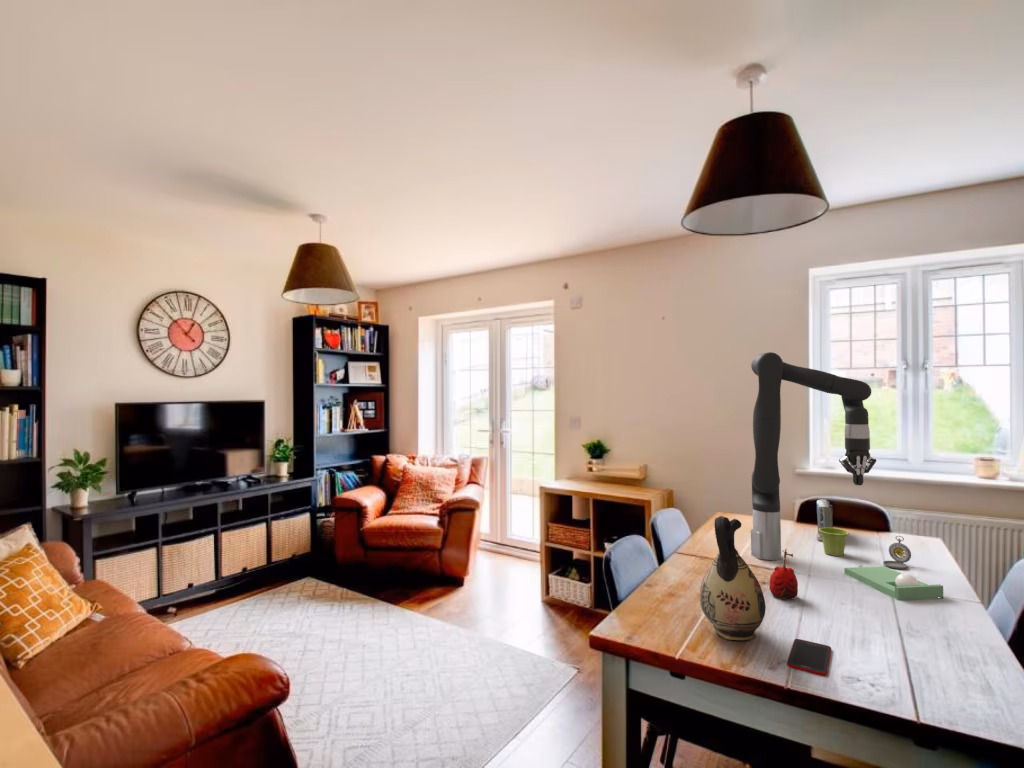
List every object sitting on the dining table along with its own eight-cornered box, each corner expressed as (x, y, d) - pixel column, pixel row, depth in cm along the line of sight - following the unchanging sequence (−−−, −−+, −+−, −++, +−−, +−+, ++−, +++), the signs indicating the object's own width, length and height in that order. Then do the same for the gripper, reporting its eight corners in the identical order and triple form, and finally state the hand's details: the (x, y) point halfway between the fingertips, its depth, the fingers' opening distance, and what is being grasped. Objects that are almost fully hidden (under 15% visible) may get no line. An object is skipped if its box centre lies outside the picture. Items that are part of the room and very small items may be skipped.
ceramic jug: (711, 614, 143) (709, 505, 143) (772, 630, 133) (770, 513, 134) (688, 637, 130) (686, 517, 130) (754, 656, 120) (751, 527, 121)
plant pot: (855, 558, 189) (854, 534, 189) (828, 558, 189) (828, 534, 189) (839, 550, 198) (838, 527, 198) (814, 550, 198) (813, 527, 198)
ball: (898, 570, 156) (887, 578, 160) (909, 589, 152) (897, 596, 156) (915, 570, 156) (904, 577, 160) (926, 588, 152) (914, 596, 157)
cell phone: (831, 650, 123) (831, 646, 123) (826, 678, 111) (826, 674, 111) (794, 641, 128) (794, 637, 128) (786, 668, 116) (786, 664, 116)
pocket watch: (884, 568, 178) (884, 538, 178) (880, 561, 185) (880, 532, 185) (914, 571, 174) (913, 541, 174) (909, 564, 181) (908, 535, 181)
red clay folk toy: (795, 593, 157) (793, 543, 157) (801, 602, 150) (800, 550, 150) (767, 591, 159) (766, 542, 159) (772, 600, 152) (771, 548, 152)
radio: (817, 528, 230) (817, 494, 230) (840, 531, 225) (840, 496, 225) (811, 540, 211) (810, 504, 211) (836, 544, 206) (835, 506, 206)
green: (898, 600, 151) (898, 587, 151) (844, 573, 173) (844, 563, 173) (943, 597, 152) (943, 585, 152) (884, 572, 174) (883, 561, 174)
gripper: (847, 438, 182) (848, 487, 182) (882, 437, 183) (883, 486, 183) (832, 436, 190) (833, 483, 189) (866, 435, 191) (867, 482, 190)
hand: (858, 484), depth 186 cm, fingers closed
